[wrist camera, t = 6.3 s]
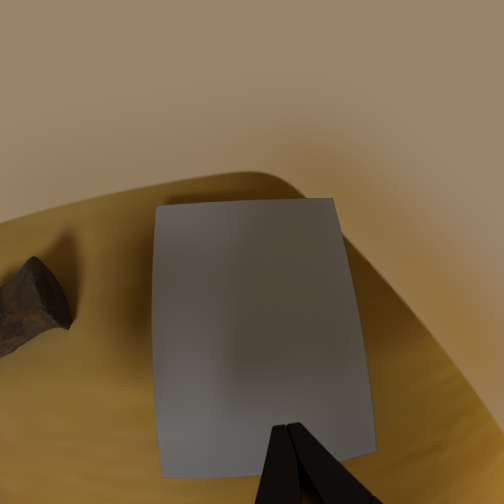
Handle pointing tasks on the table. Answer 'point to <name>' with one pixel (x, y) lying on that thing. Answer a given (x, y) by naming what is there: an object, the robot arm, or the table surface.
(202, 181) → the table surface
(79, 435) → the table surface
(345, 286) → the tile
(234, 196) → the table surface
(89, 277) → the table surface
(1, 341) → the dark brown rough rod
